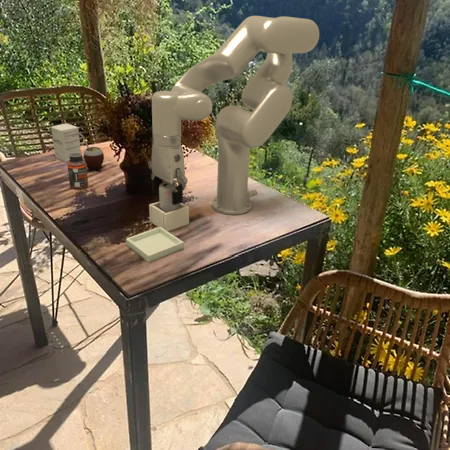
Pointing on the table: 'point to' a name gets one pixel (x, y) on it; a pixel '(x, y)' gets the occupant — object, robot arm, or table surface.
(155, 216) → the can holder
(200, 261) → the table surface
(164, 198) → the energy drink
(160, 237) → the tray
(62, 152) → the supplement box
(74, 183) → the supplement bottle
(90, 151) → the mate gourd
